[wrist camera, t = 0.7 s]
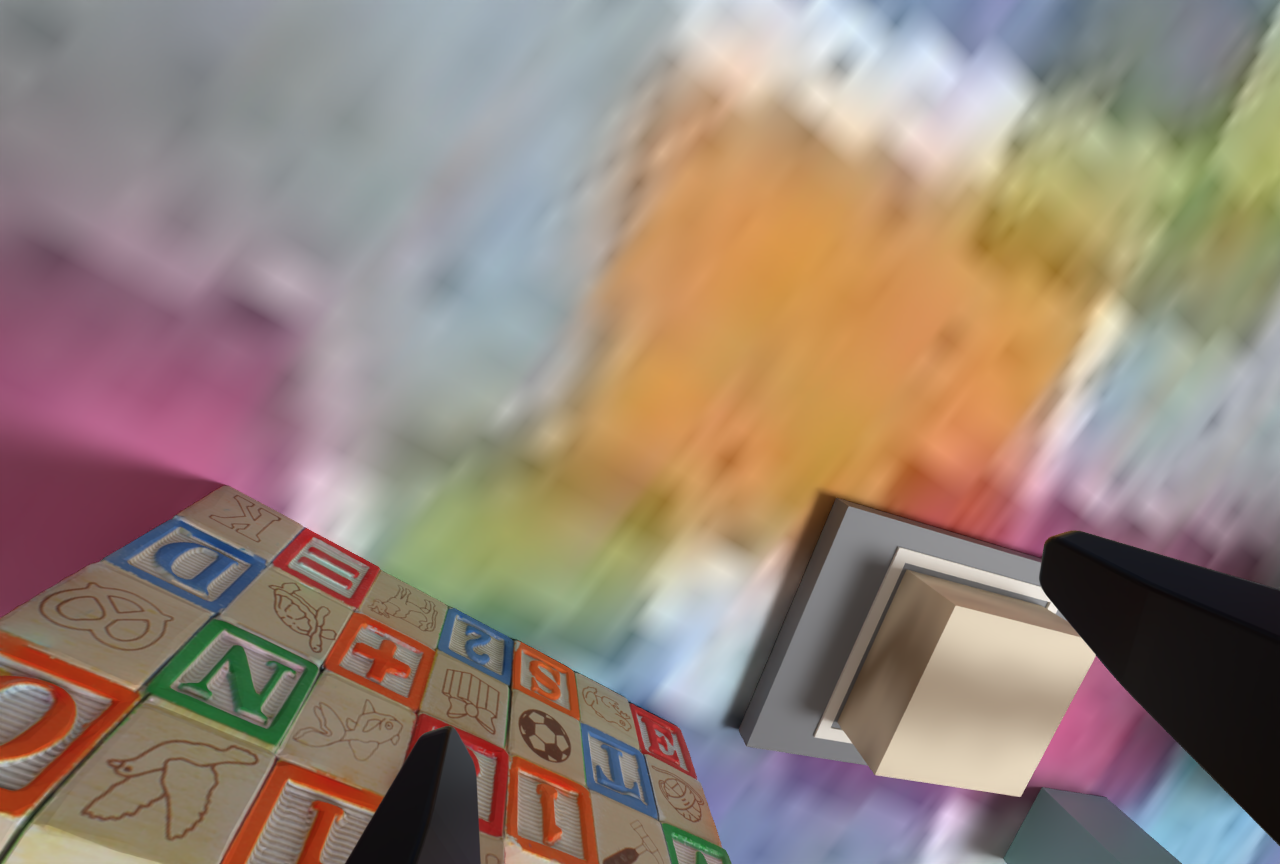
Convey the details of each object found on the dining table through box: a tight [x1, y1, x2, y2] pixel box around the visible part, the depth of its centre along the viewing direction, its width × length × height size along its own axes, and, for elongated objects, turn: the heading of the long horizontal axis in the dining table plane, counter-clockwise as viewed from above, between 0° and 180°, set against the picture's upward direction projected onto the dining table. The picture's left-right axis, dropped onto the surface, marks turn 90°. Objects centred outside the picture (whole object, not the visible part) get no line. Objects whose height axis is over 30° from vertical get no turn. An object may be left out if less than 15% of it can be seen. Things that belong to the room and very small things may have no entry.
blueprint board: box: [739, 498, 1067, 765], centre depth 27 cm, size 12×16×1 cm
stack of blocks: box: [0, 485, 731, 864], centre depth 17 cm, size 21×6×12 cm, turn 52°
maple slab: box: [837, 570, 1096, 797], centre depth 25 cm, size 8×8×3 cm
